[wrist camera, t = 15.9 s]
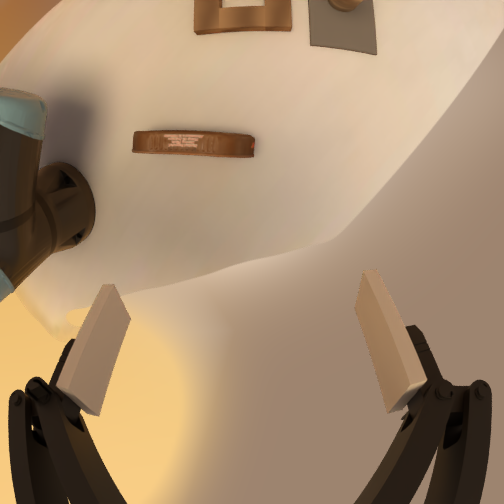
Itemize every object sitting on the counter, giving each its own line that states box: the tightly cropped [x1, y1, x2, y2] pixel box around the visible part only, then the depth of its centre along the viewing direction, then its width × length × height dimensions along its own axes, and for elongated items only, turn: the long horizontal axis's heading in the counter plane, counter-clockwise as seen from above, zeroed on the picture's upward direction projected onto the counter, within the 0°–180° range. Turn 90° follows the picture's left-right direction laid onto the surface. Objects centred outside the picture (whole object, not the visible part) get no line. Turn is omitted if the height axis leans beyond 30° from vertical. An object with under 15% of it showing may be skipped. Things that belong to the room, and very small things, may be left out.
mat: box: [308, 0, 377, 55], centre depth 23 cm, size 9×16×1 cm, turn 1°
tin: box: [132, 130, 255, 158], centre depth 31 cm, size 15×3×8 cm, turn 84°
